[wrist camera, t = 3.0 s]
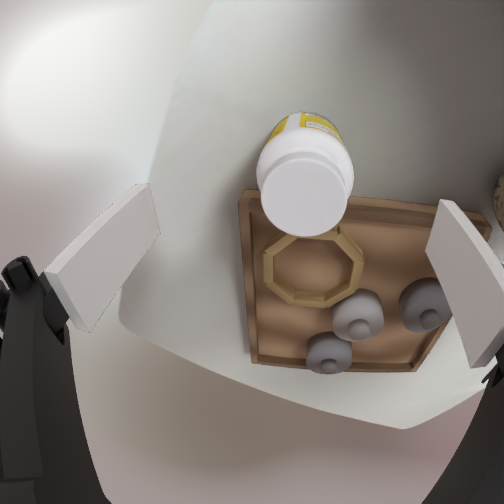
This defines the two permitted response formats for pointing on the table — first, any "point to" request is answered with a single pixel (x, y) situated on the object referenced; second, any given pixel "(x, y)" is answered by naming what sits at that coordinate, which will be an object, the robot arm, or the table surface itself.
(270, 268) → the carrier
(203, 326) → the table surface
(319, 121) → the supplement bottle
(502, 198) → the decorative egg
